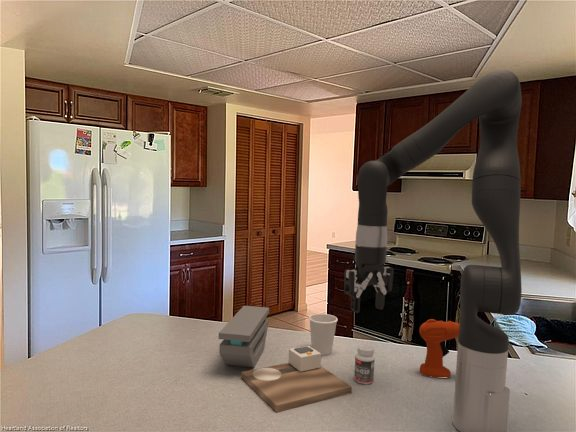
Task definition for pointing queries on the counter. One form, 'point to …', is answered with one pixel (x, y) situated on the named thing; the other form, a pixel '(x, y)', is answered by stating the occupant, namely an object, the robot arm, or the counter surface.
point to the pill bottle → (364, 364)
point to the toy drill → (437, 346)
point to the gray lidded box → (244, 337)
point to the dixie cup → (322, 332)
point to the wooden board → (294, 385)
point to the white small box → (304, 358)
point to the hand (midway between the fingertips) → (367, 310)
